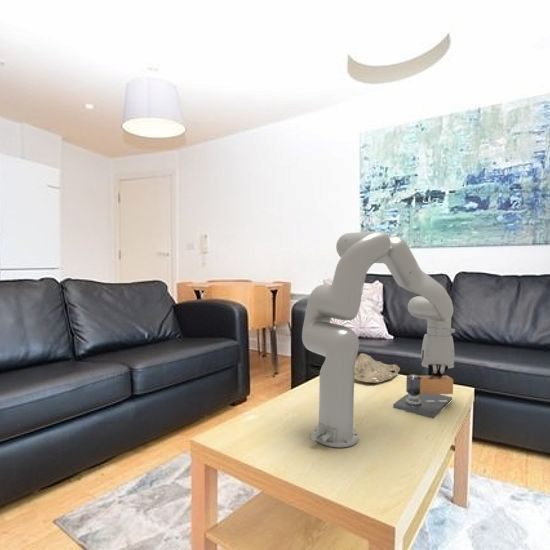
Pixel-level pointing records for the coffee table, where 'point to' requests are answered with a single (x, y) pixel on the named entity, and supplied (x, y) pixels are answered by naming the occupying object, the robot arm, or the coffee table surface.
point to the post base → (423, 404)
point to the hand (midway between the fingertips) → (436, 383)
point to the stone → (373, 369)
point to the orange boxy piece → (429, 385)
